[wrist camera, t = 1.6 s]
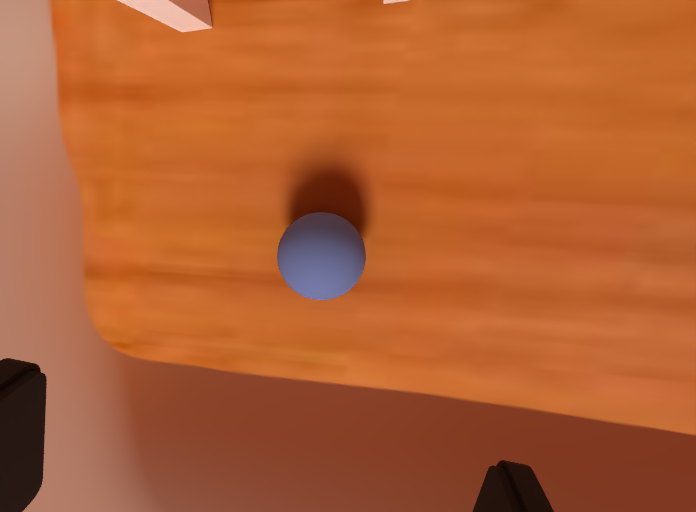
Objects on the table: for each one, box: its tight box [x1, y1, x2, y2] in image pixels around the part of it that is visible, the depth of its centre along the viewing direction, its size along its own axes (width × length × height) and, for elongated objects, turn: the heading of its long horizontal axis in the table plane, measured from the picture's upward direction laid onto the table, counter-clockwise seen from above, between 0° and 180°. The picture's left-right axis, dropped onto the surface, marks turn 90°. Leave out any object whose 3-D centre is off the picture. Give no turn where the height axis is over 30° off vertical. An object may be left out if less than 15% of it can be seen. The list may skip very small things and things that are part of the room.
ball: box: [277, 212, 366, 300], centre depth 28 cm, size 6×6×6 cm
